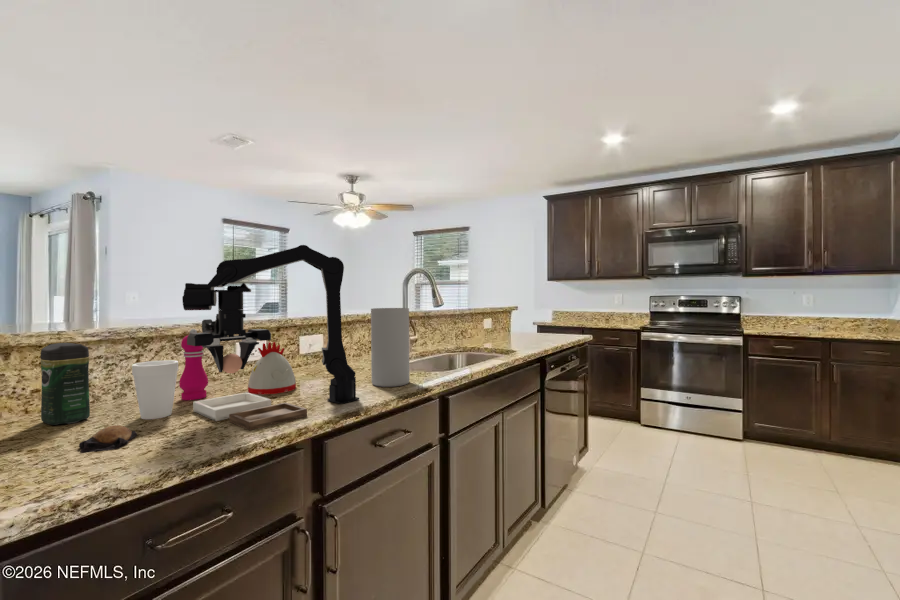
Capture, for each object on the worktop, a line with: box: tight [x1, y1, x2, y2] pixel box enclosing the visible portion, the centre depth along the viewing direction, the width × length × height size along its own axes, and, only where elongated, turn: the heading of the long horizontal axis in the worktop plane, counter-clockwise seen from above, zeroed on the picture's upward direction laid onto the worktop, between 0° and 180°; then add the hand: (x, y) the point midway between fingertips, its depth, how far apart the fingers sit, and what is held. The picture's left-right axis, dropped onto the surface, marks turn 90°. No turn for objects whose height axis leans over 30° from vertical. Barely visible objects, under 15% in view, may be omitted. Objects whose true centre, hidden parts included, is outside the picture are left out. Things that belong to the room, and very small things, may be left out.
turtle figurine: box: [78, 424, 138, 454], centre depth 86 cm, size 11×8×4 cm
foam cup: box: [131, 359, 179, 420], centre depth 105 cm, size 10×9×13 cm
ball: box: [222, 353, 242, 374], centre depth 110 cm, size 5×5×5 cm
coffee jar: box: [39, 342, 91, 426], centre depth 101 cm, size 10×8×19 cm
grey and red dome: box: [247, 341, 297, 395], centre depth 134 cm, size 14×14×15 cm
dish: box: [192, 391, 272, 422], centre depth 110 cm, size 14×14×2 cm
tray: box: [228, 402, 308, 431], centre depth 102 cm, size 14×10×2 cm
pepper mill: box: [178, 328, 209, 401], centre depth 124 cm, size 7×7×20 cm
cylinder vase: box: [370, 307, 410, 388], centre depth 142 cm, size 12×12×25 cm
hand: (231, 370), depth 110 cm, fingers closed on ball, 5 cm apart
